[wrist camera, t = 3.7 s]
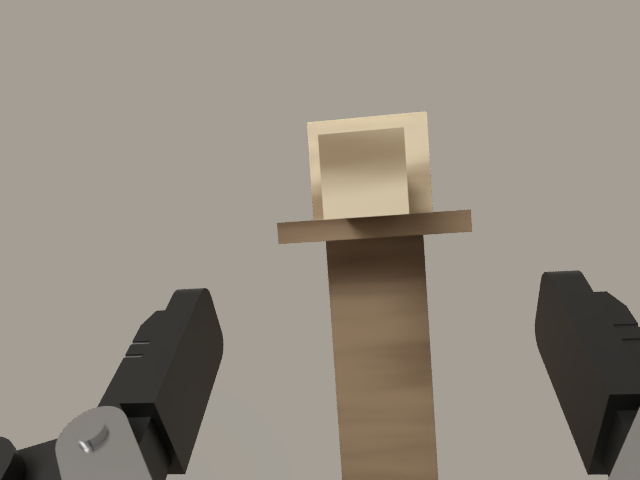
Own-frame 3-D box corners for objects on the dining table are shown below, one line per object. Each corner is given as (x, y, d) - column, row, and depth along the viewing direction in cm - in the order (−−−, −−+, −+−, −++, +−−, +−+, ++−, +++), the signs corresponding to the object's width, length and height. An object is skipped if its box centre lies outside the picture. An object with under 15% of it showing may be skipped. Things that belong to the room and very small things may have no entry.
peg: (471, 209, 15) (460, 32, 14) (265, 223, 15) (253, 55, 15) (423, 212, 32) (418, 131, 31) (326, 219, 32) (320, 139, 32)
